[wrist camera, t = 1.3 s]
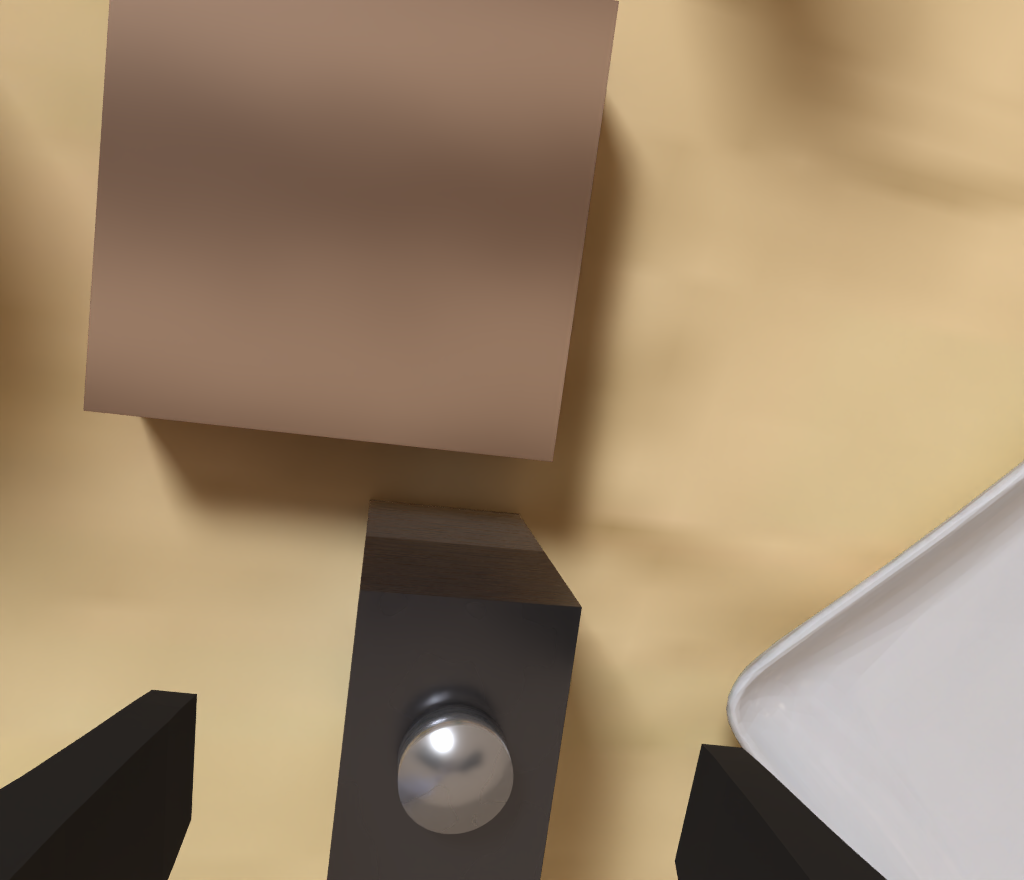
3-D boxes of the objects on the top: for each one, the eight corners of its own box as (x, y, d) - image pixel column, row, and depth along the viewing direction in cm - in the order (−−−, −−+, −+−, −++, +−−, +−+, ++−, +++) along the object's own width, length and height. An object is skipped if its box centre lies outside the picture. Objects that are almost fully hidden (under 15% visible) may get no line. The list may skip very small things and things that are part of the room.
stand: (529, 442, 20) (552, 461, 18) (131, 396, 19) (83, 410, 16) (584, 50, 19) (619, 1, 16) (162, -37, 17) (116, -109, 15)
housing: (490, 720, 22) (544, 936, 14) (345, 713, 21) (320, 937, 13) (518, 513, 21) (593, 623, 13) (369, 499, 20) (358, 607, 12)
